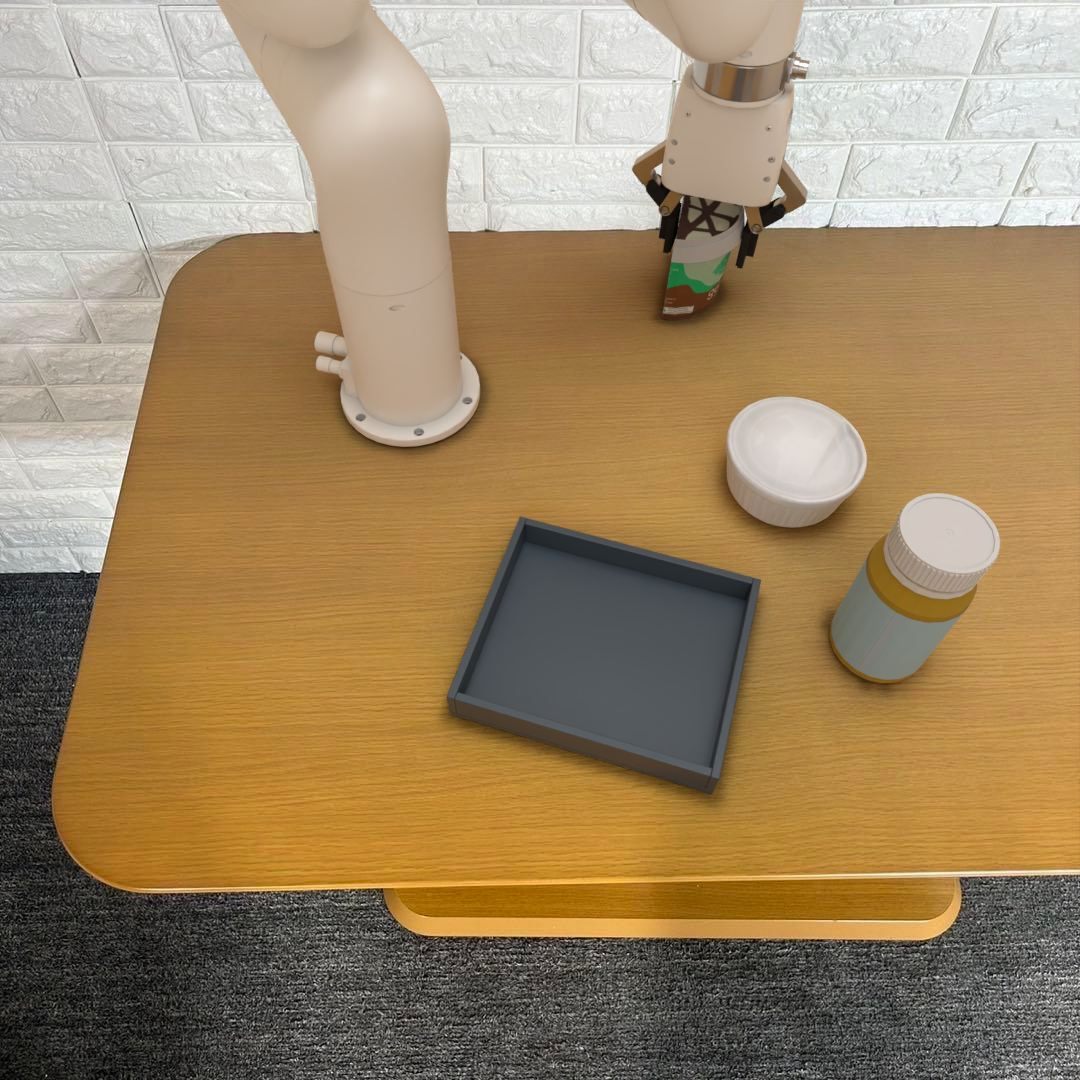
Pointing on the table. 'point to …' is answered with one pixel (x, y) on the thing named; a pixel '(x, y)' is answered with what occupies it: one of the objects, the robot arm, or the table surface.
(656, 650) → the tray
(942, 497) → the bottle
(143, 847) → the table surface
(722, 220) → the food container
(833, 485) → the ramekin
